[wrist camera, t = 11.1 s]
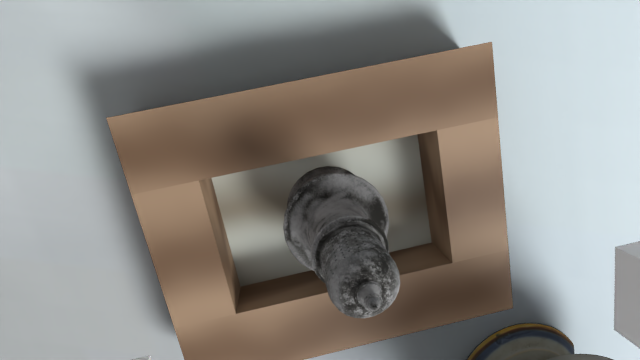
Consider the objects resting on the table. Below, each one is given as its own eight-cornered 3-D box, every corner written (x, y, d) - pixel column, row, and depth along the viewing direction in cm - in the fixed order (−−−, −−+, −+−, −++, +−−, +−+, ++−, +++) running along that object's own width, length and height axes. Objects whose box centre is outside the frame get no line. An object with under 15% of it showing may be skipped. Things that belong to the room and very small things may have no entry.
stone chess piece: (262, 209, 24) (250, 318, 13) (327, 141, 24) (378, 188, 12) (328, 267, 26) (373, 412, 14) (391, 203, 25) (493, 300, 13)
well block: (131, 113, 22) (106, 118, 19) (460, 49, 24) (491, 41, 20) (204, 348, 26) (193, 386, 23) (483, 281, 27) (513, 308, 24)
